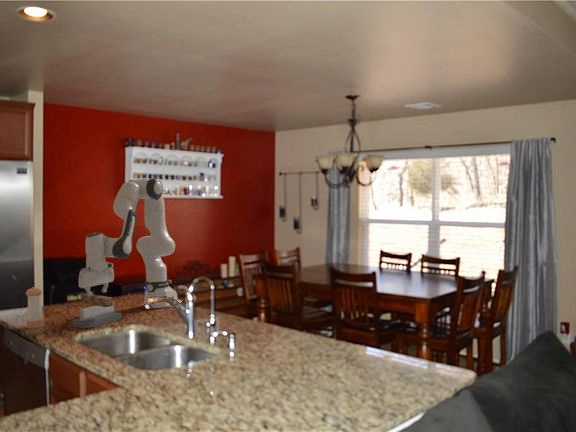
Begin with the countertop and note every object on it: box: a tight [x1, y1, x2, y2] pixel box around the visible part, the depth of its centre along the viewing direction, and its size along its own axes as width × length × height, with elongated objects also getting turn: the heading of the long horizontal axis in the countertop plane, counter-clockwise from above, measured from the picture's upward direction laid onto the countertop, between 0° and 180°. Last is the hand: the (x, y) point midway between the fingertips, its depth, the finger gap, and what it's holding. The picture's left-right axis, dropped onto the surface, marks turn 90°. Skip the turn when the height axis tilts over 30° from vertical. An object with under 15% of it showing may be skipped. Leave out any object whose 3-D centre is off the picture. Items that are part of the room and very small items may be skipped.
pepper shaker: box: [25, 286, 44, 329], centre depth 263 cm, size 7×7×19 cm
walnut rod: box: [81, 293, 114, 307], centre depth 269 cm, size 20×4×4 cm, turn 52°
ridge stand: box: [72, 300, 123, 330], centre depth 269 cm, size 22×10×9 cm, turn 155°
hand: (97, 294), depth 269 cm, fingers open, 8 cm apart
